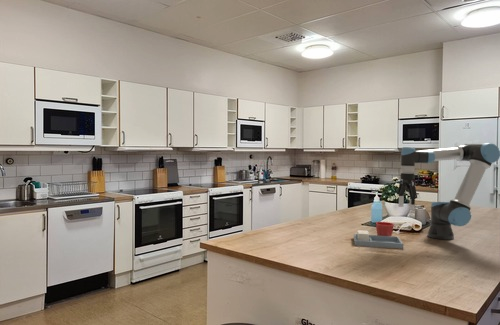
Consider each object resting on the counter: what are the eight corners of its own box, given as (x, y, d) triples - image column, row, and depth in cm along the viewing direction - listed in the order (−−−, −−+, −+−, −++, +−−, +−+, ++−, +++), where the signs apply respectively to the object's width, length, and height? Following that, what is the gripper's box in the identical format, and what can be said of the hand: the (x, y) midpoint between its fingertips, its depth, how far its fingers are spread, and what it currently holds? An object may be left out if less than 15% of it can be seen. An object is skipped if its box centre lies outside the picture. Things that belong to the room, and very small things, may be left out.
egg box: (357, 239, 223) (357, 230, 223) (367, 240, 222) (367, 230, 221) (358, 243, 213) (358, 233, 213) (368, 244, 212) (369, 234, 212)
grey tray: (353, 239, 227) (353, 233, 227) (398, 242, 221) (398, 236, 221) (354, 246, 210) (354, 240, 210) (403, 250, 204) (403, 243, 204)
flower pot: (397, 239, 228) (397, 224, 228) (383, 241, 224) (383, 225, 223) (385, 236, 238) (385, 221, 237) (371, 237, 234) (372, 222, 233)
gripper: (392, 171, 231) (391, 205, 232) (411, 174, 206) (410, 211, 207) (403, 171, 232) (402, 205, 232) (424, 174, 207) (423, 211, 207)
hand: (406, 208), depth 220 cm, fingers open, 13 cm apart
